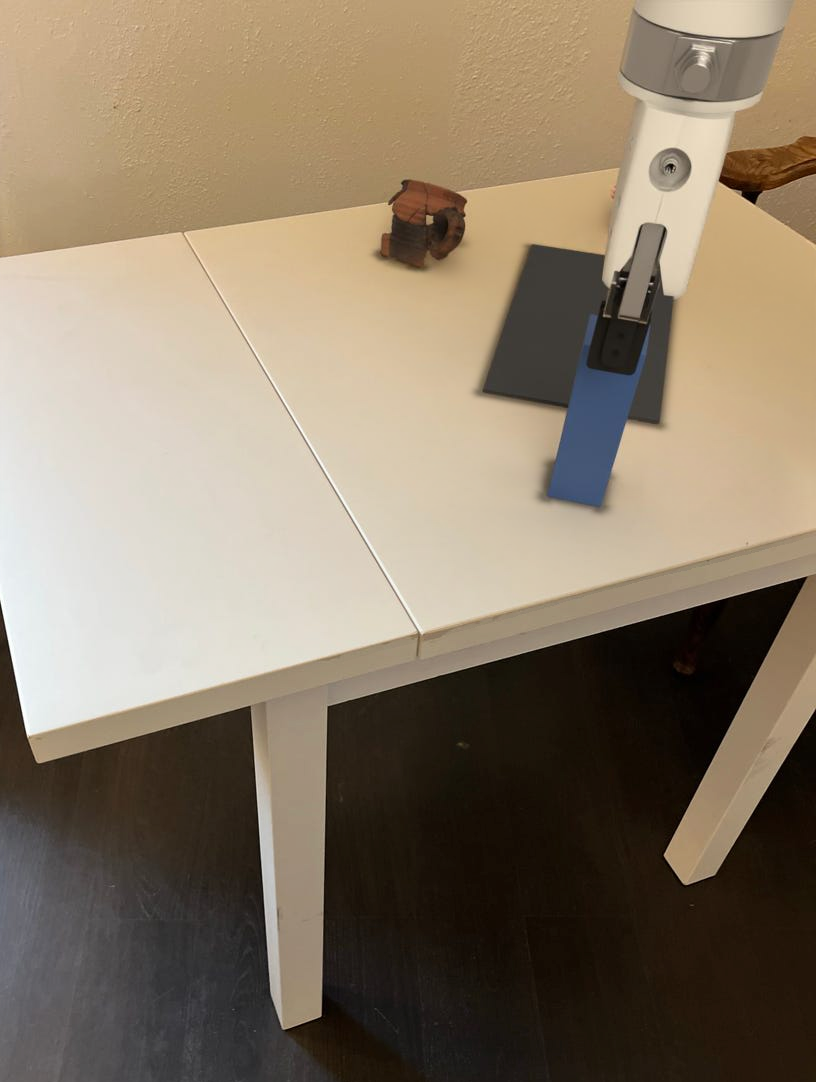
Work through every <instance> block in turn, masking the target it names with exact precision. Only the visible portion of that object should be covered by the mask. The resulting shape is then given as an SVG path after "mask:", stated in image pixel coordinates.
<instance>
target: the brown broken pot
mask: <svg viewBox="0 0 816 1082" xmlns="http://www.w3.org/2000/svg"><path fill="white" fill-rule="evenodd" d="M400 184H401V187H402V188H401V189H400V190H399V191H398V192H396V193H395V194H394V195H393V196H392V197H391V198H390V199H389V200H388V202H387V205H388V206H391V212H392V214H393V215H392V218H391V227H390V228H391V230H390V232H389V233H388V232H383V233H382V234H381V239H380V255H382V256H385V257H389V258H392V259H395V260H396V261H398V262H401V263H404V264H407V265H411V266H414V267H416V268H420V269H421V268H423V266H424V263H425V259H426V257H427V255H428V252H429V254H430V256H431V258H433V259H434V260H435V261H441V260H443V259H446V258H448V256H449V254H450V253H452V252H453V251H454V250H455V249H456V248H458V246H459V245H460V243H461V241H462V240H463V238H464V235H465V232H466V221H465V218H466V216H467V214H466V212H465V207H466V205H467V203H468V199H467V198H466V197H464V196H463V195H462V194H460V193H459V192H456V191H453V190H451V189H449V188H446V187H443V186H439V185H437V184H434V183H430V182H424V181H420V180H417V179H416V180H415V179H411V178H410V179H403V180H402V181H401V182H400ZM427 216H430V217H432V223H429V224H427Z"/></svg>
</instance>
